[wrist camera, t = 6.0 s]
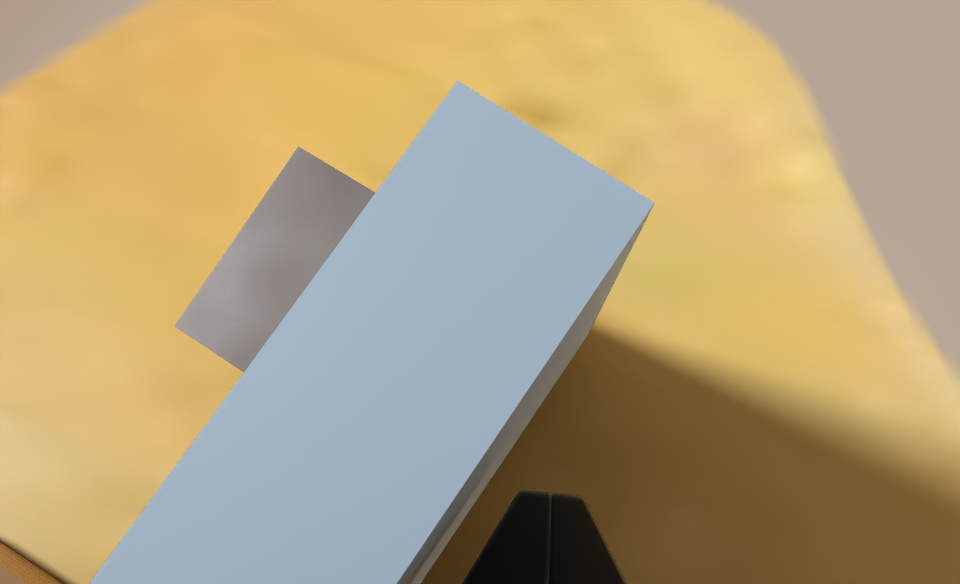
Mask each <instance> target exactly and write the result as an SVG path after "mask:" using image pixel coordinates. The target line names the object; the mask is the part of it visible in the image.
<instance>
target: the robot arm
mask: <svg viewBox="0 0 960 584" xmlns="http://www.w3.org/2000/svg"><path fill="white" fill-rule="evenodd" d="M462 584H627V582H626V580H625V578H624V576H623V574H622V572H621V570H620V568H619V566H618V564H617V562H616V560H615V558H614V556H613V554H612V552H611V550H610V548H609V546H608V544H607V542H606V540H605V538H604V536H603V534H602V532H601V530H600V528H599V526H598V524H597V522H596V520H595V518H594V516H593V514H592V512H591V510H590V508H589V506H588V504H587V502H586V501H585V499H584V498H583V497H581V496H578V495H567V494H557V493H552V494H551V493H547V492H536V491H526V490H523V491H520V492H519V493H518V494H517V495H516V497H515V498H514V500H513V501H512V503H511V505H510V506H509V508H508V510H507V511H506V513H505V514H504V516H503V518H502V519H501V521H500V523H499V524H498V526H497V528H496V529H495V531H494V532H493V534H492V536H491V537H490V539H489V541H488V542H487V544H486V546H485V547H484V549H483V550H482V552H481V554H480V555H479V557H478V559H477V560H476V562H475V564H474V565H473V567H472V568H471V570H470V572H469V573H468V575H467V577H466V578H465V580H464V582H463V583H462Z"/></svg>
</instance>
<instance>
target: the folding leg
mask: <svg viewBox="0 0 960 584" xmlns="http://www.w3.org/2000/svg"><path fill="white" fill-rule="evenodd" d="M653 205H654V202H652V201H651V200H649V199H648V198H646V197H644V196H643V195H641V194H639V193H638V192H636V191H635V190H633V189H631V188H630V187H628V186H627V185H625V184H623V183H622V182H620V181H619V180H617V179H615V178H614V177H612V176H610V175H609V174H607V173H606V172H604V171H602V170H601V169H599V168H598V167H596V166H594V165H593V164H591V163H590V162H588V161H586V160H585V159H583V158H582V157H580V156H578V155H577V154H575V153H573V152H572V151H570V150H569V149H567V148H565V147H564V146H562V145H561V144H559V143H557V142H556V141H554V140H553V139H551V138H549V137H548V136H546V135H544V134H543V133H541V132H540V131H538V130H536V129H535V128H533V127H532V126H530V125H528V124H527V123H525V122H524V121H522V120H520V119H519V118H517V117H516V116H514V115H512V114H511V113H509V112H507V111H506V110H504V109H503V108H501V107H499V106H498V105H496V104H495V103H493V102H491V101H490V100H488V99H487V98H485V97H483V96H482V95H480V94H478V93H477V92H475V91H474V90H472V89H470V88H469V87H467V86H466V85H464V84H462V83H461V82H459V81H457V82H456V83H455V85H454V86H453V88H452V89H451V90H450V92H449V93H448V94H447V96H446V97H445V99H444V100H443V101H442V103H441V104H440V105H439V107H438V108H437V109H436V111H435V112H434V114H433V115H432V116H431V118H430V119H429V120H428V122H427V123H426V124H425V126H424V127H423V129H422V130H421V131H420V133H419V134H418V135H417V137H416V138H415V140H414V141H413V142H412V144H411V145H410V146H409V148H408V149H407V150H406V152H405V153H404V155H403V156H402V157H401V159H400V160H399V161H398V163H397V164H396V165H395V167H394V168H393V170H392V171H391V172H390V174H389V175H388V176H387V178H386V179H385V181H384V182H383V183H382V185H381V186H380V187H379V189H378V190H377V191H376V193H375V194H374V196H373V197H372V198H371V200H370V201H369V202H368V204H367V205H366V207H365V208H364V209H363V211H362V212H361V213H360V215H359V216H358V217H357V219H356V220H355V222H354V223H353V224H352V226H351V227H350V228H349V230H348V231H347V232H346V234H345V235H344V237H343V238H342V239H341V241H340V242H339V243H338V245H337V246H336V248H335V249H334V250H333V252H332V253H331V254H330V256H329V257H328V258H327V260H326V261H325V263H324V264H323V265H322V267H321V268H320V269H319V271H318V272H317V273H316V275H315V276H314V278H313V279H312V280H311V282H310V283H309V284H308V286H307V287H306V289H305V290H304V291H303V293H302V294H301V295H300V297H299V298H298V299H297V301H296V302H295V304H294V305H293V306H292V308H291V309H290V310H289V312H288V313H287V315H286V316H285V317H284V319H283V320H282V321H281V323H280V324H279V325H278V327H277V328H276V330H275V331H274V332H273V334H272V335H271V336H270V338H269V339H268V340H267V342H266V343H265V345H264V346H263V347H262V349H261V350H260V351H259V353H258V354H257V356H256V357H255V358H254V360H253V361H252V362H251V364H250V365H249V366H248V368H247V369H246V371H245V372H244V373H243V375H242V376H241V377H240V379H239V380H238V381H237V383H236V384H235V386H234V387H233V388H232V390H231V391H230V392H229V394H228V395H227V397H226V398H225V399H224V401H223V402H222V403H221V405H220V406H219V407H218V409H217V410H216V412H215V413H214V414H213V416H212V417H211V418H210V420H209V421H208V423H207V424H206V425H205V427H204V428H203V429H202V431H201V432H200V433H199V435H198V436H197V438H196V439H195V440H194V442H193V443H192V444H191V446H190V447H189V448H188V450H187V451H186V453H185V454H184V455H183V457H182V458H181V459H180V461H179V462H178V464H177V465H176V466H175V468H174V469H173V470H172V472H171V473H170V474H169V476H168V477H167V479H166V480H165V481H164V483H163V484H162V485H161V487H160V488H159V489H158V491H157V492H156V494H155V495H154V496H153V498H152V499H151V500H150V502H149V503H148V505H147V506H146V507H145V509H144V510H143V511H142V513H141V514H140V515H139V517H138V518H137V520H136V521H135V522H134V524H133V525H132V526H131V528H130V529H129V531H128V532H127V533H126V535H125V536H124V537H123V539H122V540H121V541H120V543H119V544H118V546H117V547H116V548H115V550H114V551H113V552H112V554H111V555H110V556H109V558H108V559H107V561H106V562H105V563H104V565H103V566H102V567H101V569H100V570H99V572H98V573H97V574H96V576H95V577H94V578H93V580H92V581H91V582H90V584H421V582H422V581H423V579H424V578H425V576H426V575H427V573H428V572H429V570H430V569H431V567H432V566H433V565H434V563H435V562H436V560H437V559H438V557H439V556H440V554H441V553H442V551H443V550H444V548H445V547H446V545H447V544H448V542H449V541H450V539H451V538H452V536H453V535H454V533H455V532H456V530H457V529H458V527H459V526H460V524H461V523H462V521H463V520H464V518H465V517H466V515H467V514H468V513H469V511H470V510H471V508H472V507H473V505H474V504H475V502H476V501H477V499H478V498H479V496H480V495H481V493H482V492H483V490H484V489H485V487H486V486H487V484H488V483H489V481H490V480H491V478H492V477H493V475H494V474H495V472H496V471H497V469H498V468H499V466H500V465H501V463H502V462H503V461H504V459H505V458H506V456H507V455H508V453H509V452H510V450H511V449H512V447H513V446H514V444H515V443H516V441H517V440H518V438H519V437H520V435H521V434H522V432H523V431H524V429H525V428H526V426H527V425H528V423H529V422H530V420H531V419H532V417H533V416H534V414H535V413H536V411H537V410H538V409H539V407H540V406H541V404H542V403H543V401H544V400H545V398H546V397H547V395H548V394H549V392H550V391H551V389H552V388H553V386H554V385H555V383H556V382H557V380H558V379H559V377H560V376H561V374H562V373H563V371H564V370H565V368H566V367H567V365H568V364H569V362H570V361H571V359H572V358H573V357H574V355H575V354H576V352H577V351H578V349H579V348H580V346H581V345H582V343H583V342H584V340H585V339H586V337H587V336H588V334H589V332H590V330H591V328H592V326H593V324H594V322H595V320H596V318H597V316H598V314H599V312H600V310H601V308H602V306H603V304H604V302H605V300H606V298H607V296H608V294H609V292H610V290H611V288H612V286H613V284H614V282H615V280H616V278H617V276H618V274H619V272H620V270H621V268H622V266H623V264H624V262H625V260H626V258H627V256H628V254H629V252H630V250H631V248H632V246H633V245H634V243H635V241H636V239H637V237H638V235H639V233H640V231H641V229H642V227H643V225H644V223H645V221H646V219H647V217H648V215H649V213H650V211H651V209H652V207H653Z"/></svg>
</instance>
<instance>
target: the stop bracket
mask: <svg viewBox="0 0 960 584" xmlns="http://www.w3.org/2000/svg"><path fill="white" fill-rule="evenodd" d="M374 194H375V192H373V191H372V190H370V189H368V188H367V187H365V186H363V185H362V184H360V183H358V182H357V181H355V180H353V179H352V178H350V177H348V176H347V175H345V174H343V173H342V172H340V171H338V170H337V169H335V168H333V167H332V166H330V165H328V164H327V163H325V162H323V161H322V160H320V159H318V158H317V157H315V156H313V155H312V154H310V153H308V152H307V151H305V150H303V149H302V148H300V147H298V148H297V149H296V151H295V152H294V154H293V155H292V157H291V158H290V160H289V161H288V163H287V164H286V165H285V167H284V168H283V170H282V171H281V173H280V174H279V176H278V177H277V178H276V180H275V181H274V183H273V184H272V186H271V187H270V189H269V190H268V192H267V193H266V194H265V196H264V197H263V199H262V200H261V202H260V203H259V205H258V206H257V207H256V209H255V210H254V212H253V213H252V215H251V216H250V218H249V219H248V220H247V222H246V223H245V225H244V226H243V228H242V229H241V231H240V232H239V234H238V235H237V236H236V238H235V239H234V241H233V242H232V244H231V245H230V247H229V248H228V249H227V251H226V252H225V254H224V255H223V257H222V258H221V260H220V261H219V263H218V264H217V265H216V267H215V268H214V270H213V271H212V273H211V274H210V276H209V277H208V278H207V280H206V281H205V283H204V284H203V286H202V287H201V289H200V290H199V291H198V293H197V294H196V296H195V297H194V299H193V300H192V302H191V303H190V305H189V306H188V307H187V309H186V310H185V312H184V313H183V315H182V316H181V318H180V319H179V320H178V322H177V323H176V325H175V327H176V328H178V329H179V330H181V331H182V332H184V333H185V334H187V335H188V336H190V337H192V338H193V339H195V340H196V341H198V342H199V343H201V344H202V345H204V346H205V347H207V348H208V349H210V350H211V351H213V352H214V353H216V354H217V355H219V356H220V357H222V358H223V359H225V360H226V361H228V362H229V363H231V364H232V365H234V366H235V367H237V368H238V369H240V370H241V371H243V372H245V371H246V369H247V368H248V366H249V365H250V364H251V362H252V361H253V360H254V358H255V357H256V356H257V354H258V353H259V351H260V350H261V349H262V347H263V346H264V345H265V343H266V342H267V340H268V339H269V338H270V336H271V335H272V334H273V332H274V331H275V330H276V328H277V327H278V325H279V324H280V323H281V321H282V320H283V319H284V317H285V316H286V315H287V313H288V312H289V310H290V309H291V308H292V306H293V305H294V304H295V302H296V301H297V299H298V298H299V297H300V295H301V294H302V293H303V291H304V290H305V289H306V287H307V286H308V284H309V283H310V282H311V280H312V279H313V278H314V276H315V275H316V273H317V272H318V271H319V269H320V268H321V267H322V265H323V264H324V263H325V261H326V260H327V258H328V257H329V256H330V254H331V253H332V252H333V250H334V249H335V248H336V246H337V245H338V243H339V242H340V241H341V239H342V238H343V237H344V235H345V234H346V232H347V231H348V230H349V228H350V227H351V226H352V224H353V223H354V222H355V220H356V219H357V217H358V216H359V215H360V213H361V212H362V211H363V209H364V208H365V207H366V205H367V204H368V202H369V201H370V200H371V198H372V197H373V196H374Z"/></svg>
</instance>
